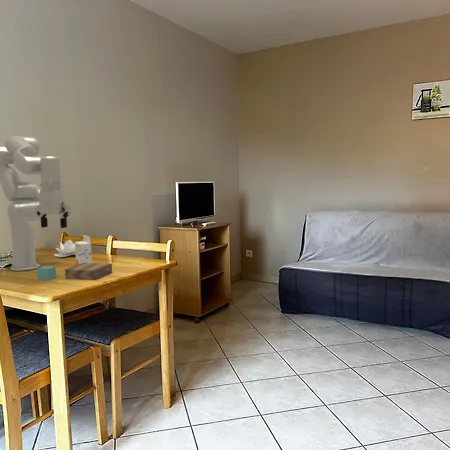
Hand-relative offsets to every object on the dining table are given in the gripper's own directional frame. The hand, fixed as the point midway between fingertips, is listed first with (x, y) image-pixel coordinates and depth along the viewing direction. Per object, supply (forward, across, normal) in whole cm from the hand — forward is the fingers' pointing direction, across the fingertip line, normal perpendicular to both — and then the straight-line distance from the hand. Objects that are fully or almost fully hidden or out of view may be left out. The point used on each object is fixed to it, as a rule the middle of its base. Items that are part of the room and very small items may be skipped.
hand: (54, 227), depth 172 cm
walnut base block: (+22, +12, +6) cm, 25 cm away
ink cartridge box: (+22, -3, +22) cm, 31 cm away
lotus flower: (+22, -30, +45) cm, 58 cm away
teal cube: (+22, -3, -3) cm, 22 cm away
